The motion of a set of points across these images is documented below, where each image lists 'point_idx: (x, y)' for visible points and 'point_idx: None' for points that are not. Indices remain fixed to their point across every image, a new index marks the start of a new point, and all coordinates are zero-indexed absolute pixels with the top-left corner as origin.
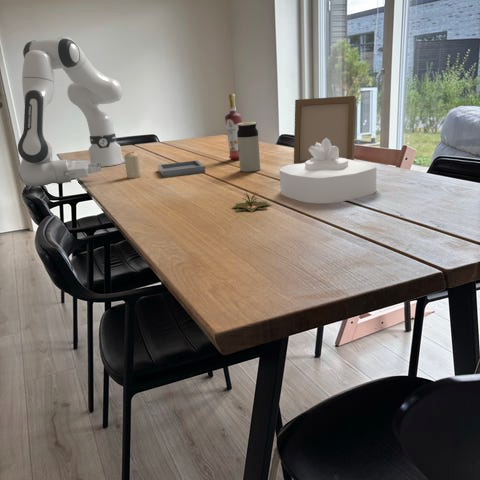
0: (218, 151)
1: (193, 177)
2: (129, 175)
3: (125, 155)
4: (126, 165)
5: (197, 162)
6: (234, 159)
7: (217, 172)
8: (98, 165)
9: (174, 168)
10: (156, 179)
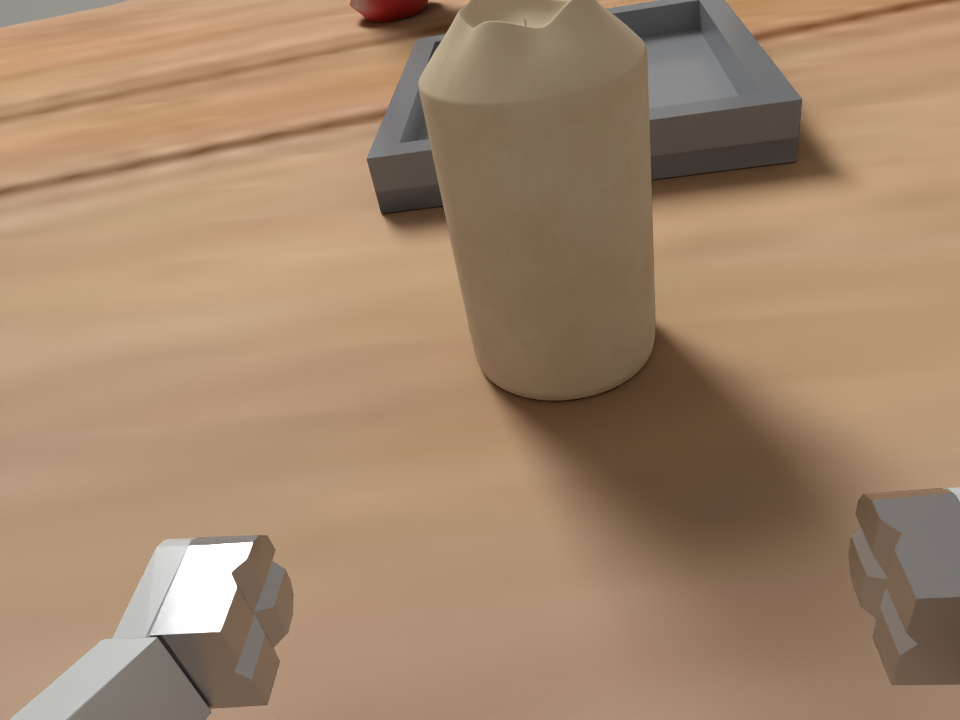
0: (32, 78)
1: (888, 51)
2: (636, 341)
3: (559, 63)
4: (603, 225)
5: None
6: (417, 8)
7: (760, 10)
8: (253, 623)
9: None
10: (863, 185)
